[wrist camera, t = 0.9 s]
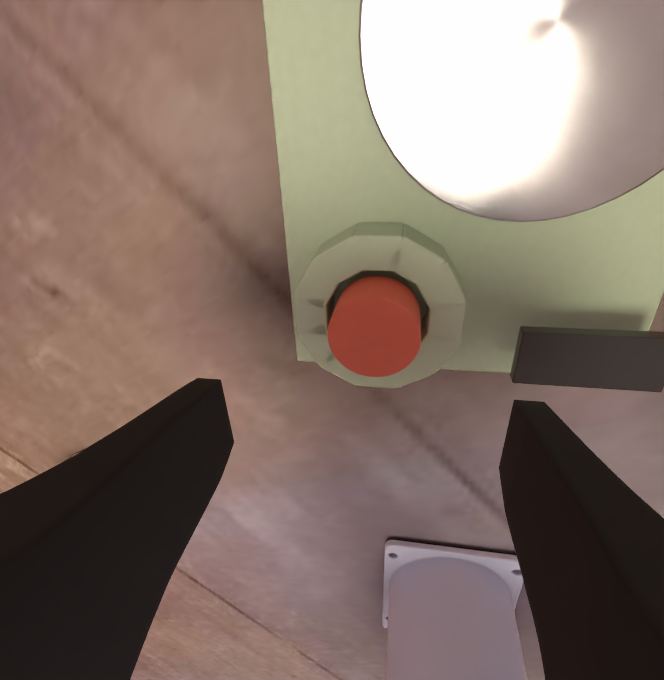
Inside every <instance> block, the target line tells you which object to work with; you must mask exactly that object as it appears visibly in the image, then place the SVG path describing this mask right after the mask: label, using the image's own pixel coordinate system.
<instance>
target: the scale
mask: <svg viewBox="0 0 664 680" xmlns="http://www.w3.org/2000/svg"><path fill="white" fill-rule="evenodd" d="M262 4H263V14H264V24H265V34H266V44H267V55H268V65H269V75H270V85H271V96H272V106H273V116H274V126H275V137H276V147H277V157H278V167H279V177H280V188H281V198H282V208H283V218H284V229H285V239H286V249H287V259H288V269H289V280H290V290H291V300H292V310H293V321H294V331H295V341H296V351H297V360H298V361H312V362H316V363H317V364H318V365H319V366H320V367H321V368H323V369H325V370H326V371H328V372H330V373H332V374H334V375H336V376H338V377H340V378H341V379H343V380H345V381H347V382H349V383H351V384H353V385H356V386H365V387H380V388H400V387H402V386H405V385H408V384H410V383H413V382H415V381H418V380H421V379H423V378H426V377H428V376H431V375H434V374H435V373H436V372H437V370H438V369H448V370H465V371H482V372H499V373H511V368H512V363H513V358H514V354H515V349H516V344H517V339H518V334H519V330H520V327H521V326H533V327H558V328H582V329H606V330H631V331H649V329H650V327H651V324H652V322H653V319H654V317H655V314H656V311H657V309H658V306H659V304H660V301H661V298H662V296H663V293H664V170H663V171H661V172H660V173H659V174H657V175H656V176H654V177H653V178H651V179H650V180H648V181H647V182H645V183H644V184H642V185H641V186H639V187H637V188H635V189H633V190H631V191H630V192H628V193H626V194H624V195H622V196H620V197H618V198H617V199H615V200H612V201H610V202H607V203H605V204H603V205H600V206H598V207H595V208H593V209H590V210H587V211H584V212H580V213H577V214H574V215H570V216H567V217H561V218H556V219H550V220H545V221H531V222H510V221H497V220H492V219H487V218H482V217H477V216H474V215H471V214H469V213H466V212H463V211H460V210H457V209H455V208H453V207H451V206H449V205H447V204H445V203H443V202H442V201H440V200H438V199H437V198H435V197H434V196H432V195H431V194H430V193H428V192H427V191H425V190H424V189H422V188H421V187H420V186H419V185H418V184H417V183H416V182H415V181H414V180H413V179H412V178H411V177H410V176H409V175H408V174H407V173H406V172H405V171H404V170H403V168H402V167H401V166H400V165H399V163H398V162H397V161H396V160H395V158H394V157H393V156H392V154H391V152H390V151H389V149H388V147H387V146H386V144H385V142H384V141H383V139H382V137H381V135H380V133H379V130H378V128H377V126H376V123H375V121H374V119H373V117H372V114H371V110H370V107H369V104H368V100H367V97H366V94H365V90H364V84H363V78H362V72H361V67H360V54H359V38H358V33H359V11H360V0H262ZM377 275H378V276H386V277H390V278H393V279H396V280H398V281H400V282H401V283H403V284H405V285H406V286H407V287H408V288H409V289H410V290H411V291H412V292H413V294H414V295H415V297H416V298H417V301H418V303H419V306H420V313H421V345H420V348H419V351H418V353H417V355H416V357H415V359H414V360H413V361H412V362H411V363H410V364H409V365H408V366H407V367H406V368H404V369H403V370H401V371H400V372H397V373H395V374H392V375H389V376H384V377H369V376H364V375H360V374H357V373H355V372H353V371H351V370H349V369H347V368H346V367H344V366H343V365H342V364H341V363H340V362H339V361H338V360H337V359H336V357H335V356H334V355H333V353H332V351H331V349H330V346H329V343H328V337H327V331H328V325H329V322H330V319H331V317H332V314H333V311H334V309H335V306H336V303H337V301H338V298H339V296H340V295H341V293H342V292H343V290H344V289H345V288H346V287H347V286H348V285H350V284H351V283H352V282H354V281H356V280H358V279H360V278H363V277H367V276H377Z"/></svg>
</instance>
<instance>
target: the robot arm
mask: <svg viewBox="0 0 664 680" xmlns="http://www.w3.org/2000/svg"><path fill="white" fill-rule="evenodd" d="M233 444H234V440H233V435H232V430H231V426H230V421H229V416H228V412H227V407H226V402H225V397H224V393H223V388H222V383H221V380H218V379H203V378H197V379H195V380H194V381H192V382H190V383H188V384H187V385H185V386H184V387H182V388H180V389H179V390H177V391H176V392H174V393H173V394H171V395H170V396H168V397H167V398H165V399H164V400H162V401H160V402H159V403H157V404H156V405H154V406H153V407H151V408H150V409H148V410H147V411H145V412H144V413H142V414H141V415H139V416H138V417H136V418H135V419H133V420H132V421H130V422H128V423H127V424H125V425H124V426H122V427H121V428H119V429H118V430H116V431H114V432H113V433H111V434H109V435H108V436H106V437H104V438H103V439H101V440H99V441H98V442H96V443H94V444H93V445H91V446H89V447H88V448H86V449H85V450H83V451H81V452H80V453H78V454H76V455H75V456H73V457H71V458H69V459H67V460H66V461H64V462H62V463H60V464H58V465H57V466H55V467H53V468H51V469H49V470H47V471H45V472H43V473H42V474H40V475H38V476H36V477H34V478H32V479H30V480H28V481H26V482H24V483H22V484H20V485H18V486H16V487H14V488H12V489H10V490H8V491H6V492H4V493H1V494H0V680H130V678H131V676H132V673H133V670H134V668H135V665H136V662H137V660H138V657H139V654H140V652H141V649H142V647H143V644H144V641H145V639H146V636H147V633H148V631H149V628H150V626H151V623H152V621H153V618H154V616H155V614H156V611H157V609H158V606H159V604H160V601H161V599H162V596H163V594H164V591H165V589H166V587H167V584H168V582H169V580H170V578H171V576H172V574H173V572H174V569H175V567H176V565H177V563H178V561H179V559H180V558H181V556H182V554H183V552H184V550H185V548H186V546H187V544H188V542H189V540H190V538H191V536H192V534H193V532H194V531H195V529H196V527H197V525H198V523H199V521H200V519H201V517H202V515H203V513H204V511H205V509H206V507H207V505H208V504H209V502H210V500H211V498H212V496H213V494H214V492H215V490H216V488H217V486H218V484H219V482H220V480H221V477H222V474H223V472H224V469H225V467H226V464H227V461H228V458H229V455H230V452H231V449H232V447H233ZM499 471H500V479H501V486H502V494H503V501H504V507H505V513H506V517H507V521H508V525H509V528H510V532H511V536H512V540H513V544H514V548H515V551H516V555H509V554H501V553H494V552H486V551H478V550H470V549H462V548H454V547H446V546H439V545H431V544H423V543H415V542H407V541H399V540H388V541H387V542H386V543H385V557H384V585H383V613H382V626H383V627H384V628H386V629H388V633H387V653H386V673H385V680H527V675H526V670H525V665H524V660H523V654H522V649H521V644H520V639H519V634H518V629H517V623H516V618H515V613H514V610H515V607H516V604H517V601H518V598H519V595H520V591H521V588H522V585H523V582H524V585H525V589H526V592H527V596H528V600H529V604H530V607H531V611H532V615H533V619H534V623H535V627H536V632H537V636H538V641H539V645H540V651H541V657H542V662H543V668H544V674H545V680H664V519H663V518H662V517H661V516H660V515H659V514H658V513H657V512H656V511H654V510H653V509H652V508H651V507H650V506H649V505H648V504H647V503H645V502H644V501H643V500H642V499H641V498H640V497H639V496H638V495H637V494H635V493H634V492H633V491H632V490H631V489H630V488H629V487H628V486H627V485H626V484H625V483H624V482H623V481H622V480H621V479H620V478H618V477H617V476H616V475H615V474H614V473H613V472H612V471H611V470H610V469H609V468H608V467H607V466H606V465H605V464H604V463H603V462H602V461H601V460H600V459H599V458H598V457H597V456H596V455H595V454H594V453H593V452H592V451H591V450H590V449H589V448H588V447H587V446H586V445H585V444H584V443H583V442H582V441H581V440H580V439H579V438H578V437H577V436H576V435H575V433H574V432H573V431H572V430H571V429H570V428H569V427H568V426H567V425H566V424H565V423H564V422H563V421H562V420H561V419H560V418H559V417H558V416H557V415H556V414H555V413H554V412H553V411H552V409H551V408H550V407H549V406H548V405H547V404H546V403H545V402H537V401H523V400H514V402H513V407H512V411H511V416H510V420H509V425H508V429H507V434H506V438H505V443H504V447H503V452H502V456H501V461H500V465H499Z"/></svg>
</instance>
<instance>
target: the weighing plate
mask: <svg viewBox="0 0 664 680" xmlns="http://www.w3.org/2000/svg"><path fill="white" fill-rule="evenodd" d="M358 38H359V54H360V67H361V72H362V78H363V84H364V90H365V94H366V97H367V100H368V104H369V107H370V110H371V114H372V117H373V119H374V121H375V123H376V126H377V128H378V130H379V133H380V135H381V137H382V139H383V141H384V142H385V144H386V146H387V147H388V149H389V151H390V152H391V154H392V156H393V157H394V158H395V160H396V161H397V162H398V163H399V165H400V166H401V167H402V168H403V170H404V171H405V172H406V173H407V174H408V175H409V176H410V177H411V178H412V179H413V180H414V181H415V182H416V183H417V184H418V185H419V186H420V187H421V188H422V189H424V190H425V191H427V192H428V193H430V194H431V195H432V196H434V197H435V198H437V199H438V200H440V201H442V202H443V203H445V204H447V205H449V206H451V207H453V208H455V209H457V210H460V211H463V212H466V213H469V214H471V215H474V216H477V217H482V218H487V219H492V220H497V221H510V222H531V221H545V220H550V219H556V218H561V217H567V216H570V215H574V214H577V213H580V212H584V211H587V210H590V209H593V208H595V207H598V206H600V205H603V204H605V203H607V202H610V201H612V200H615V199H617V198H618V197H620V196H622V195H624V194H626V193H628V192H630V191H631V190H633V189H635V188H637V187H639V186H641V185H642V184H644V183H645V182H647V181H648V180H650V179H651V178H653V177H654V176H656V175H657V174H659V173H660V172H661V171H663V170H664V0H360V11H359V33H358ZM510 376H511V379H512V382H513V383H523V384H539V385H555V386H571V387H587V388H603V389H619V390H635V391H651V392H661V391H662V390H663V387H664V332H655V331H631V330H606V329H582V328H558V327H533V326H521V327H520V330H519V334H518V339H517V344H516V349H515V354H514V358H513V363H512V368H511V373H510Z"/></svg>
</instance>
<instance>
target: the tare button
mask: <svg viewBox="0 0 664 680" xmlns="http://www.w3.org/2000/svg"><path fill="white" fill-rule="evenodd" d="M327 337H328V343H329V346H330V349H331V351H332V353H333V355H334V356H335V357H336V359H337V360H338V361H339V362H340V363H341V364H342V365H343V366H344V367H346V368H347V369H349V370H351V371H353V372H355V373H357V374H360V375H364V376H369V377H384V376H389V375H392V374H395V373H397V372H400V371H401V370H403V369H404V368H406V367H407V366H408V365H409V364H410V363H411V362H412V361H413V360H414V359H415V357H416V355H417V353H418V351H419V348H420V345H421V313H420V306H419V303H418V301H417V298H416V297H415V295H414V294H413V292H412V291H411V290H410V289H409V288H408V287H407V286H406V285H405V284H403V283H401V282H400V281H398V280H396V279H393V278H390V277H386V276H378V275H377V276H367V277H363V278H360V279H358V280H356V281H354V282H352V283H351V284H350V285H348V286H347V287H346V288H345V289H344V290H343V292H342V293H341V295H340V296H339V298H338V301H337V303H336V306H335V309H334V311H333V314H332V317H331V319H330V322H329V325H328V331H327Z"/></svg>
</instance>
